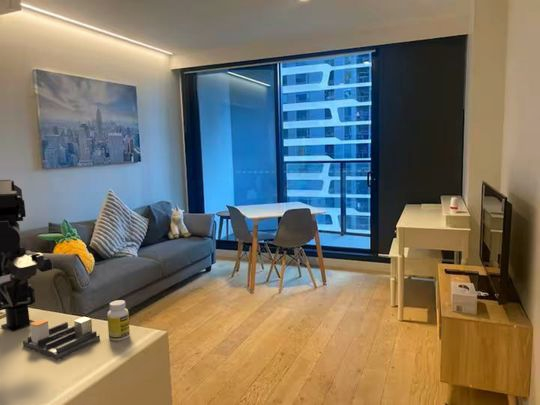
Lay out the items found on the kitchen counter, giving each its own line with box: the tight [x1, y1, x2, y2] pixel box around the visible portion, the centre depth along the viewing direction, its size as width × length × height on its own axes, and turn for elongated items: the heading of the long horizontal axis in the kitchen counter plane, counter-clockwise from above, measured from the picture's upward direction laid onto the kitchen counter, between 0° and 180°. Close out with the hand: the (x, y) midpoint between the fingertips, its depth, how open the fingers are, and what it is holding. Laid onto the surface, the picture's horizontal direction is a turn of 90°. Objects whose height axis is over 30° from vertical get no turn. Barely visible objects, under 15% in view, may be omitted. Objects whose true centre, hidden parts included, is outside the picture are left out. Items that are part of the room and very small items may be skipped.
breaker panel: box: [22, 316, 101, 361], centre depth 109 cm, size 15×12×6 cm
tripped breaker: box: [29, 318, 50, 343], centre depth 107 cm, size 3×3×5 cm
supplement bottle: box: [107, 299, 131, 342], centre depth 112 cm, size 5×5×10 cm
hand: (13, 306), depth 101 cm, fingers closed
